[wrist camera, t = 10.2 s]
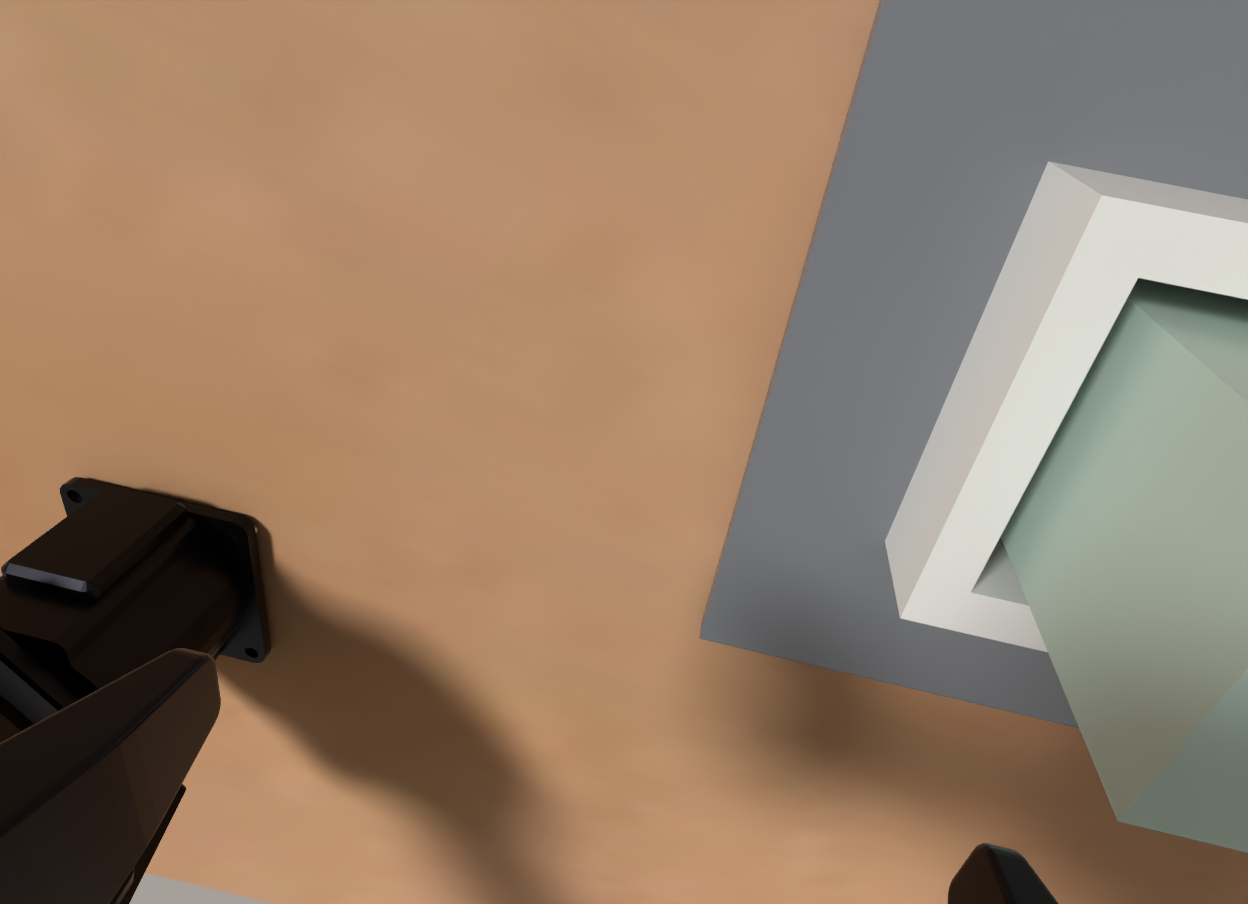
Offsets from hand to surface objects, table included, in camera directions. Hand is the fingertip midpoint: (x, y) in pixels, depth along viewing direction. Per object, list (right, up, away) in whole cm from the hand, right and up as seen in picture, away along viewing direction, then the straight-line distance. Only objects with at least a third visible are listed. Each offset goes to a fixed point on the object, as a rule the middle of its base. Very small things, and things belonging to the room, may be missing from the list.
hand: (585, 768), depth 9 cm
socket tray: (+12, +5, +9) cm, 16 cm away
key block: (+12, +5, +9) cm, 16 cm away
